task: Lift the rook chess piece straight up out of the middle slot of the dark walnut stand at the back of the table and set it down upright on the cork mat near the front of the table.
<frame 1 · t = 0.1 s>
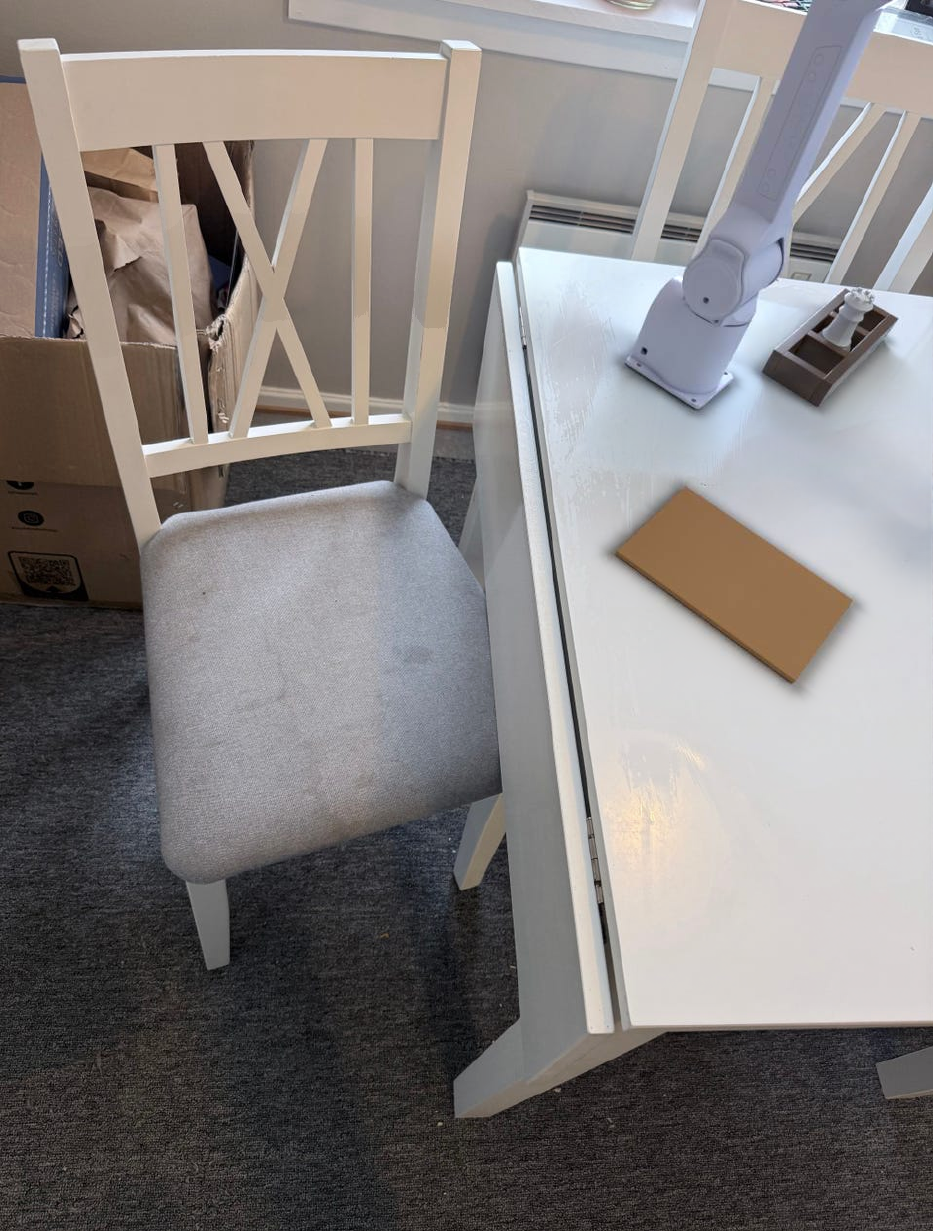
stand: (825, 355, 97), on the table
rook chess piece: (824, 356, 97), resting in stand
cork mat: (733, 579, 74), on the table
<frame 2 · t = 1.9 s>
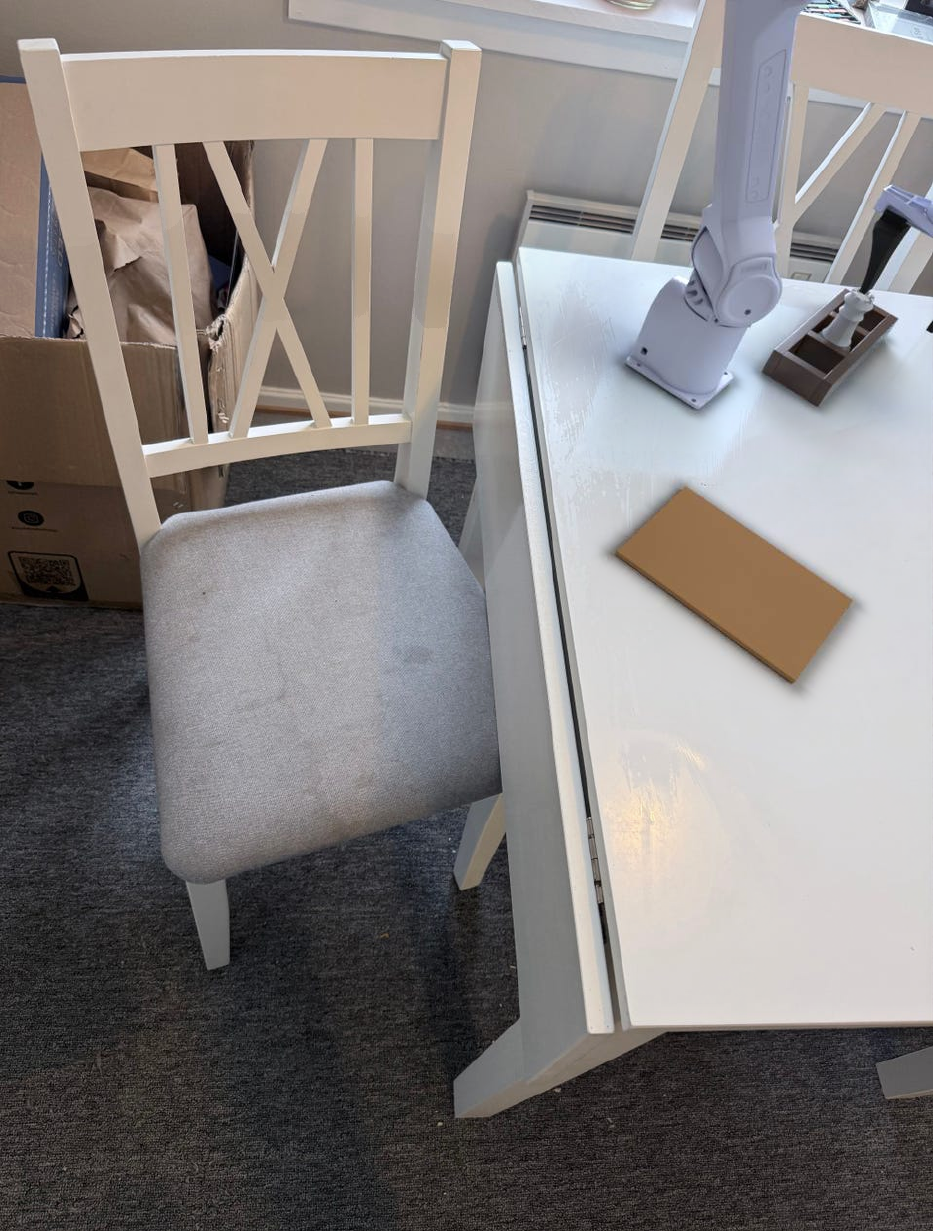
hand: (898, 309, 86), 10 cm above the table, tool pointing down, fingers open, 7 cm apart
nothing on the table moved.
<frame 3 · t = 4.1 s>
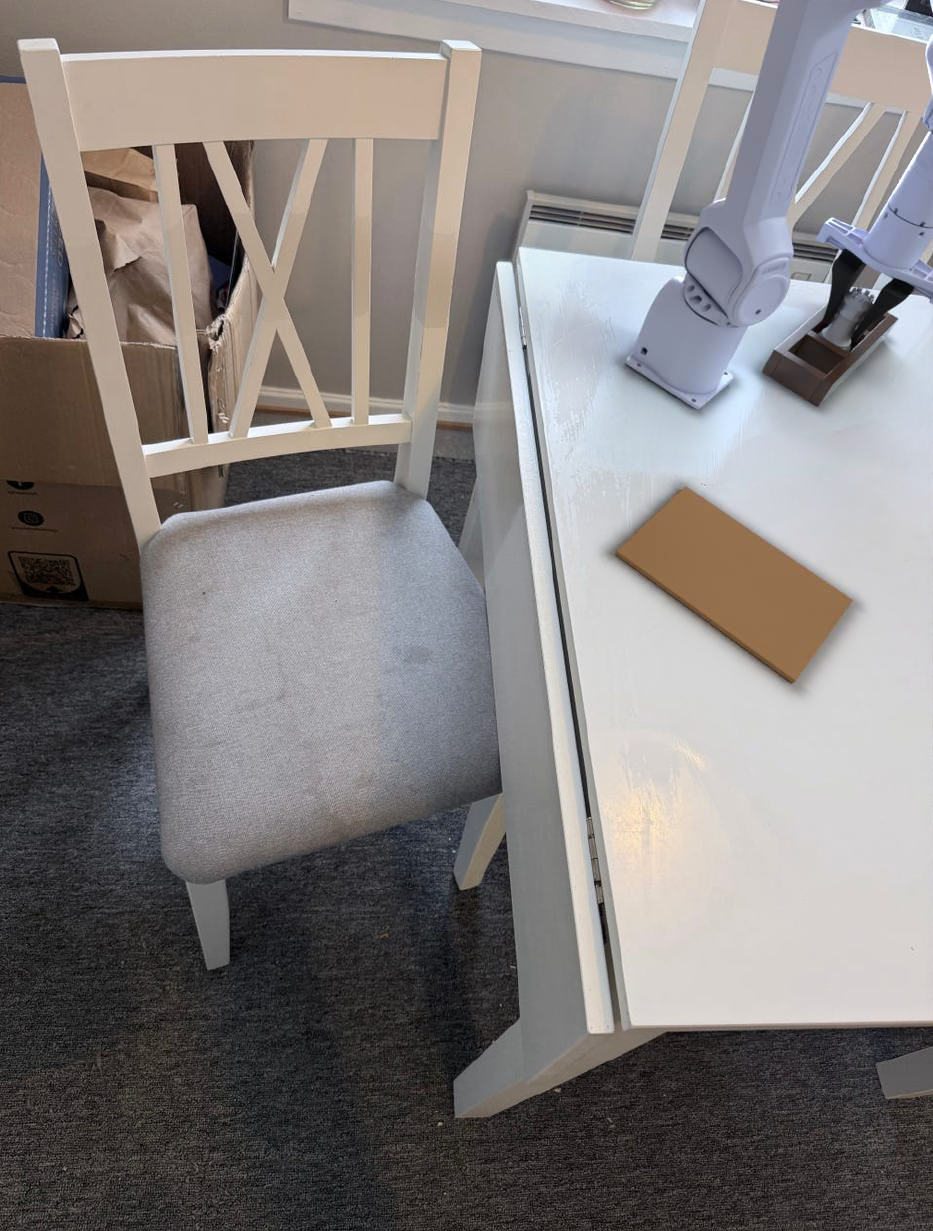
hand: (842, 328, 94), 4 cm above the table, tool pointing down, fingers closed on rook chess piece, 3 cm apart
rook chess piece: (824, 356, 97), resting in stand, touching gripper
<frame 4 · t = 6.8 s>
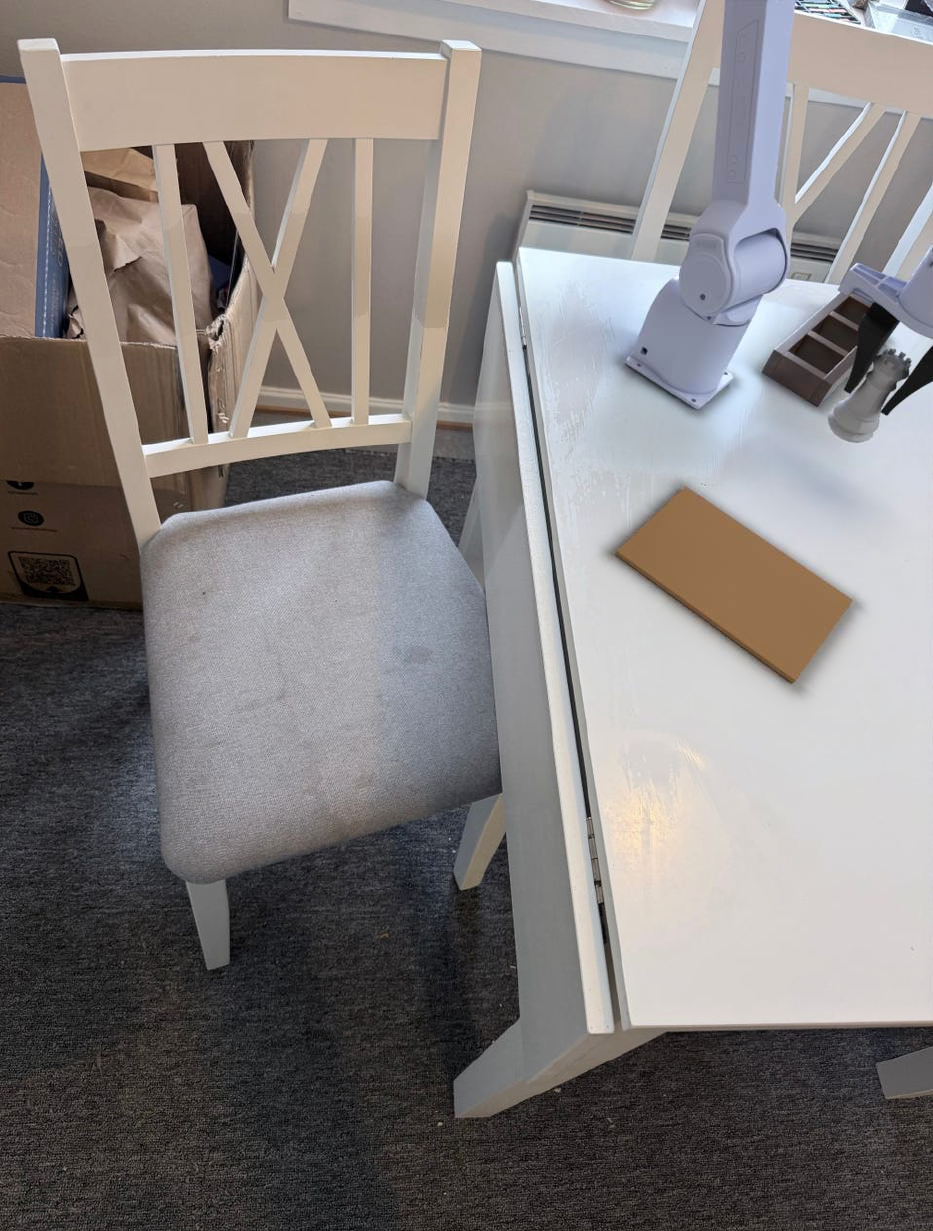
hand: (869, 398, 75), 10 cm above the table, tool pointing down, fingers closed on rook chess piece, 3 cm apart
rook chess piece: (846, 430, 78), point 7 cm above the table, touching gripper
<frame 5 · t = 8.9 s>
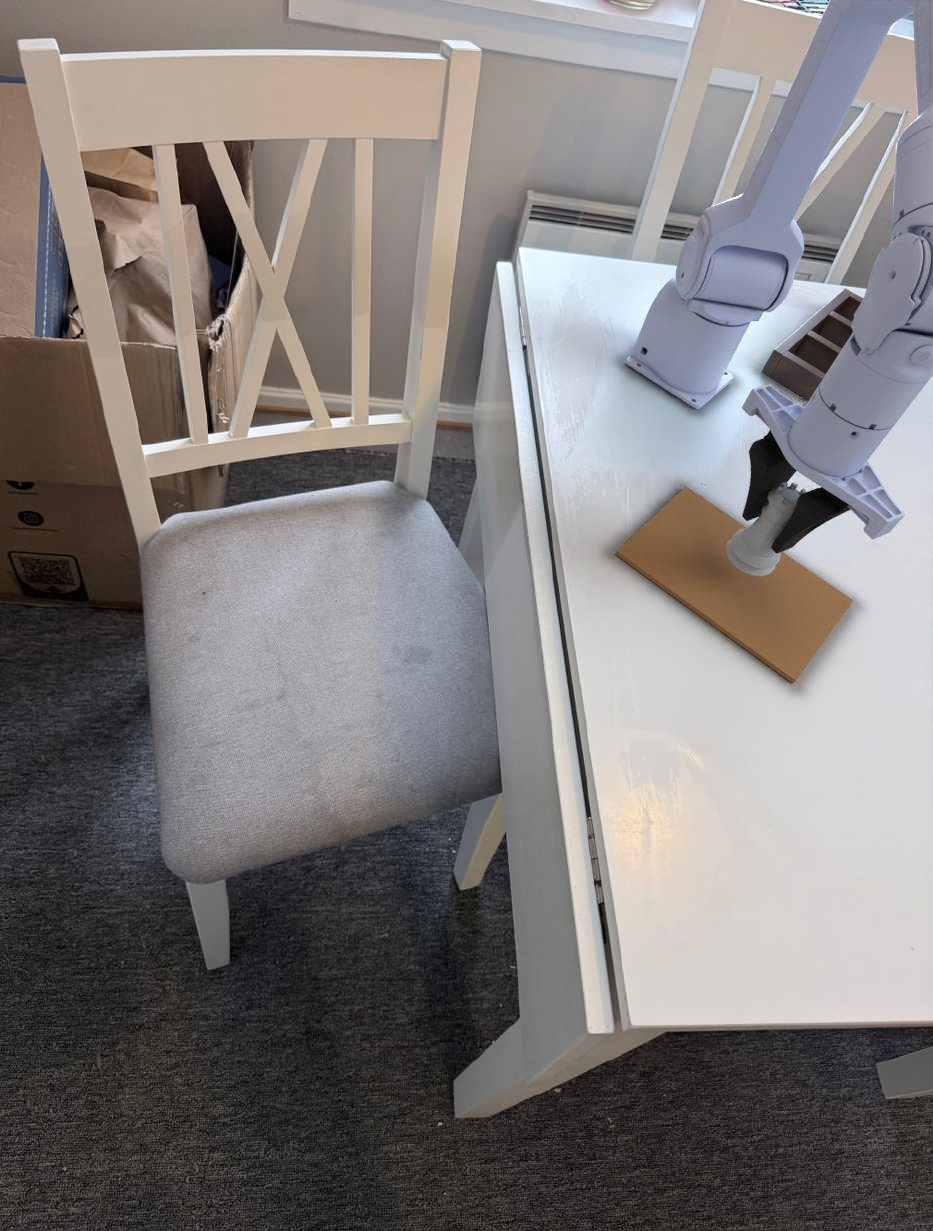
hand: (767, 531, 69), 6 cm above the table, tool pointing down, fingers closed on rook chess piece, 3 cm apart
rook chess piece: (747, 560, 72), point 3 cm above the table, touching gripper
when the fingers open (4 cm above the table, at t = 10.0 s): rook chess piece stays where it is, resting on cork mat.
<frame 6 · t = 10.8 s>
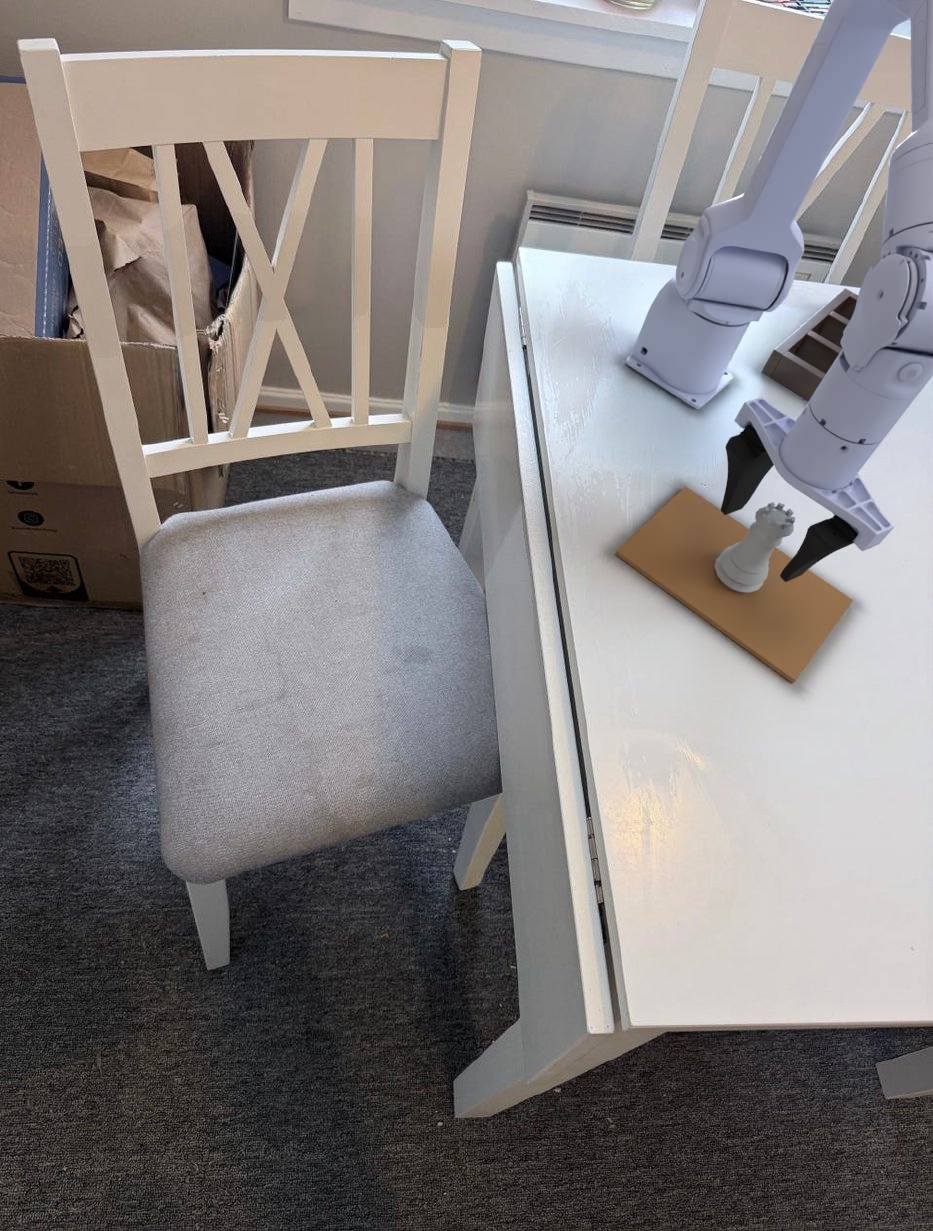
hand: (760, 541, 70), 5 cm above the table, tool pointing down, fingers open, 7 cm apart
rook chess piece: (736, 576, 74), resting on cork mat
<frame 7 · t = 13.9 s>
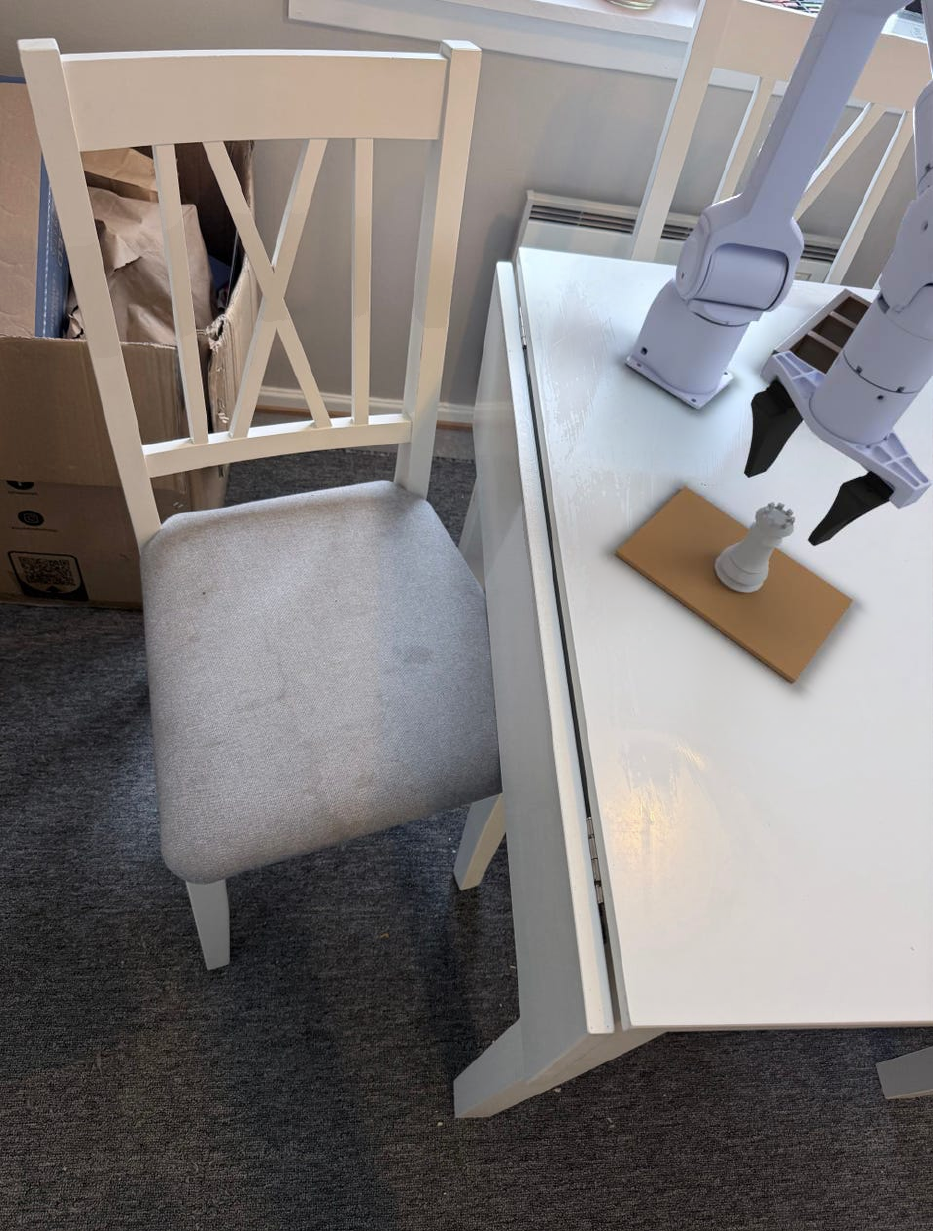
hand: (785, 505, 66), 9 cm above the table, tool pointing down, fingers open, 7 cm apart
nothing on the table moved.
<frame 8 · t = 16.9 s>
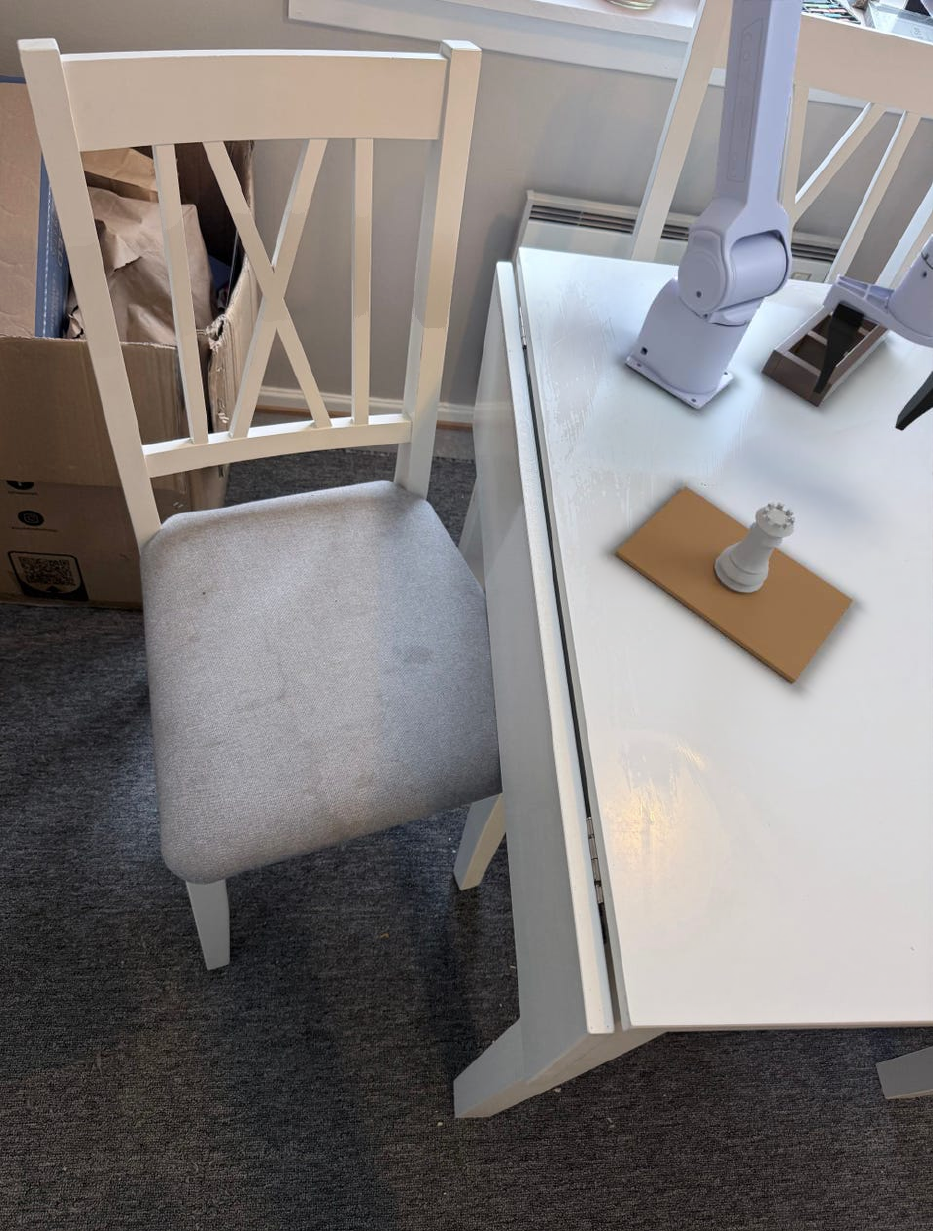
hand: (858, 405, 74), 10 cm above the table, tool pointing down, fingers open, 7 cm apart
nothing on the table moved.
at the end: rook chess piece inside the target area on the cork mat (0.1 cm from its centre), point 0.3 cm above the cork mat's base; rook chess piece tilted 0°; the gripper is holding nothing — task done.
